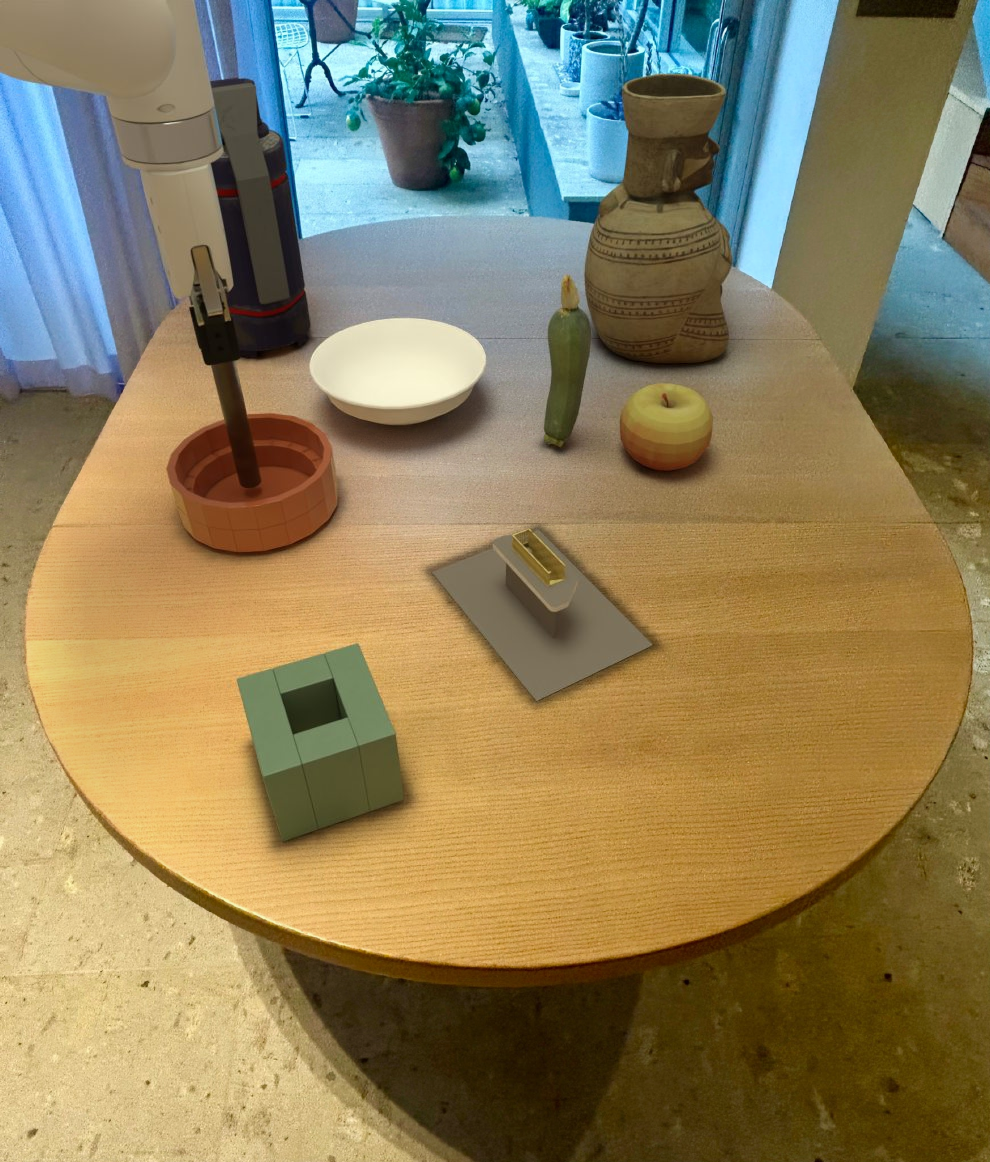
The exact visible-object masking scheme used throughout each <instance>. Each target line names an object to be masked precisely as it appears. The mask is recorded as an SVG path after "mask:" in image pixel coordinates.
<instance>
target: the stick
mask: <svg viewBox="0 0 990 1162" xmlns="http://www.w3.org/2000/svg"><path fill="white" fill-rule="evenodd" d="M202 301H204V299H203V298H199V302H202ZM200 304H201V303H200ZM210 367H211V372H212V375H213V379H214V384H215V389H216V392H217V396H218V400H219V405H220V409H221V413H222V417H223V420H224V421H225V426H226V430H227V434H228V438H229V442H230V446H231V450H232V455H233V459H234V463H235V467H236V471H237V475H238V479H239V483H240V485H241V486H242V487H244V488H254V487H256V486H258V485H259V484H260V483H261V481H262V480H261V475H260V471H259V466H258V461H257V457H256V452H255V448H254V443H253V439H252V434H251V430H250V425H249V421H248V416H247V415H248V412H247V408H246V404H245V399H244V393H243V390H242V389H243V388H242V384H241V380H240V376H239V375H240V374H239V372H238V367H237V361H231V362H226V363H220V364H215V365H210Z"/></svg>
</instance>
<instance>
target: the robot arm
mask: <svg viewBox="0 0 990 1162" xmlns="http://www.w3.org/2000/svg"><path fill="white" fill-rule="evenodd" d="M197 13H198V12H197V7H196V2H195V0H0V73H1V74H3V75H5V76H7V77H9V78H13V79H16V80H20V81H22V82H23V81H24V82H28V83H32V84H38V85H44V86H48V87H54V88H60V89H68V90H72V91H79V92H84V93H88V94H95V95H99V96H104V97H106V102H107V105H108V109H109V113H110V117H111V120H112V124H113V128H114V131H115V135H116V139H117V142H118V143H117V144H118V146H119V150H120V154H121V158H122V161H123V163H124V164H125V165H126V166H129V167H130V168H132V169H135V170H139V173H140V178H141V185H142V186H143V193H144V197H145V200H146V206H147V209H148V213H149V216H150V217H149V218H150V220H151V225H152V227H153V232H154V236H155V239H156V244H157V247H158V252H159V254H160V259H161V263H162V267H163V270H164V273H165V276H166V279H167V282H168V285H169V288H170V290H171V293H172V296H173V297H174V298H176V299H177V300H178V301H183V300H184V298H188V300H189V303H190V305H191V306H188V311H189V314H190V318H191V322H192V327H193V330H194V334H195V339H196V342H197V345H198V348H199V349H200V353H201V357H202V360H203V363H204V365H205V366H210V367H211V365H215V364H220V363H226V362H231V361H235V362H237V361H239V360H240V359H241V357H242V356H241V355H240V350H239V346H238V341H237V336H236V332H235V327H234V322H233V318H232V315H231V316H230V313H229V308H228V304H227V299H226V295H225V289H226V290H227V292H229V291H230V290H231V289H232V287H233V278H232V271H231V265H230V259H229V253H228V247H227V241H226V236H225V231H224V225H223V220H222V215H221V210H220V205H219V200H218V195H217V190H216V186H215V181H214V176H213V172H212V167H211V163H212V162H214V161H215V160H217V159H219V158H220V157H221V156H222V154H223V152H224V151H223V145H222V140H221V135H220V129H219V124H218V119H217V114H216V109H215V105H214V99H213V94H212V89H211V84H210V81H211V79H210V74H209V69H208V63H207V59H206V54H205V49H204V44H203V39H202V34H201V29H200V28H201V27H200V24H199V23H200V22H199V18H198V14H197ZM199 298H203V299H204V301H202V302H199ZM200 303H201V304H200Z"/></svg>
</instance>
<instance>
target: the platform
mask: <svg viewBox="0 0 990 1162" xmlns="http://www.w3.org/2000/svg"><path fill="white" fill-rule="evenodd" d="M431 574H432V575H433V576H434V577H435V579H436V580H437V581H438V582H439V583H440V584H441V586H442V587H443V588H444V590H445V591H446V592H447V593H448V595H449V596H450V597H451V598H452V599H453V600H454V602H455V603H456V605H458V607H459V608H460V609H461V610H462V611H463V613H464V614H465V615H466V616H467V618H468V620H470V622H471V623H472V625H474V627H476V629H477V630H478V632H479V633H480V634H481V635H482V636H483V637H484V639H485V640H486V642H487V643H489V645H490V646H491V648H492V649H494V652H495V653H497V655H498V656H499V657H500V659H501V660H502V661H503V663H505V665H506V666H507V667H508V668H509V669H510V671H511V672H512V673H513V675H514V676H515V677H516V678H517V679H518V681H519V682H520V683H521V684H522V685H523V687H524V688H525V689H526V690H527V692H528V693H529V694H530V695H531V697H532V698H533V699H534V700H535V702H539V701H541V700H542V699H544V698H546V697H549V696H550V695H553V694H554V693H557V692H559V691H561V690H563V689H565V688H568V687H569V686H572V685H573V684H576V683H577V682H579V681H581V680H584V679H586V678H588V677H590V676H593V675H595V674H597V673H598V672H600V671H603V670H604V669H606V668H608V667H610V666H613V665H615V664H617V663H619V662H621V661H623V660H625V659H627V658H629V657H632V656H634V655H636V654H638V653H640V652H642V651H644V650H646V649H648V648H650V647H652V646H653V643H652V642H651V641H650V640H649V639H648V638H647V637H646V636H645V635H643V633H642V632H641V631H640V630H639V629H638V628H637V627H636V626H635V625H634V624H633V623H632V622H631V621H630V620H629V619H628V618H627V616H625V615H624V614H623V613H622V612H621V611H620V610H619V609H618V608H617V607H616V606H615V605H614V604H613V602H611V601H610V600H609V599H608V598H607V597H606V596H605V595H604V594H603V593H602V592H601V591H600V590H599V589H598V588H597V587H596V586H595V585H594V584H593V583H592V582H591V580H589V578H587V577H586V576H585V575H584V574H583V573H582V572H581V571H580V570H579V569H578V568H577V566H575V565H574V564H573V563H572V562H571V561H570V560H569V558H567V557H566V556H565V555H564V554H563V552H562V551H560V549H558V548H557V547H556V545H554V544H553V543H552V541H551V540H549V539H548V538H547V537H546V535H544V534H543V532H541V530H540V529H537V530H535V531H532V530H531V529H530V528H526V529H524V530H521V531H518V532H516V533H514V534H505V535H502V536H499V537H497V538H495V539H493V540H492V548H489V549H487V550H484V551H481V552H479V553H476V554H474V555H472V556H468V557H466V558H464V559H460V560H459V561H457V562H454V563H451V564H449V565H446V566H443V567H440V568H438V569H436V570H434V571H432V572H431Z"/></svg>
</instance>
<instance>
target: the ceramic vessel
mask: <svg viewBox="0 0 990 1162" xmlns="http://www.w3.org/2000/svg"><path fill="white" fill-rule="evenodd" d="M621 89H622V90H621V100H622V109H623V116H624V125H625V128H626V130H627V133H628V134H627V145H626V152H625V153H626V154H625V161H624V170H623V178H622V181H621V183H620V184H618V185H617V186H615V187H614V188H613V189H612V190H611V191H609V192H608V193H607V194H606V195H605V196H604V197H603V198H602V199H601V201H600V203H599V206H598V215H597V217H596V219H595V221H594V223H593V226H592V228H591V230H590V231H591V232H590V235H589V239H588V244H587V250H586V256H585V262H584V273H583V275H584V290H585V299H586V302H587V308H588V311H589V314H590V317H591V318H590V319H591V321H592V324H593V327H594V329H595V331H596V333H597V335H598V337H599V338H600V340H601V341H602V343H603V344H604V345H605V346H606V347H607V348H608V350H610V351H611V352H613V353H615V354H617V355H618V356H620V357H623V358H626V359H628V360H630V361H636V362H643V363H644V362H645V363H653V364H698V363H704V362H707V361H711V360H715V359H717V358H718V357H720V356H721V355H722V354H724V352H725V351H726V349H727V347H728V344H729V337H730V333H729V327H728V322H727V319H726V316H725V313H724V309H723V305H722V295H723V283H724V282H725V281H726V279H727V277H728V276H729V274H730V272H731V269H732V265H733V252H732V248H731V244H730V239H731V236H730V235H731V234H730V233H729V230H728V229H727V227H726V226H725V225H724V224H723V223H722V222H721V221H720V220H718V219H717V218H716V217H715V216H713V215H712V213H711V212H710V211H709V209H708V208H707V207H706V206H705V204H704V201H703V200H702V199H701V197H700V196H699V195H698V194H697V193H696V191H697V190H699V189H702V188H704V187H706V186H709V185H711V184H712V182H713V171H714V168H715V167H716V163H715V158H714V157H715V156H716V155H717V154H719V153H720V151H721V147H720V145H719V144H718V142H716V141H715V140H714V139H712V138H711V137H710V136H709V134H710V132H711V131H712V129H713V127H714V125H715V123H717V119H718V117H719V115H720V112H721V110H722V107H723V104H724V102H725V100H726V96H727V90H726V88H725V86H724V85H723V84H721V83H718V82H716V81H714V80H712V79H710V78H707V77H702V76H697V75H693V74H689V73H656V74H650V75H646V76H641V77H637V78H633V79H631V80H628V81H626V82H625V83H624V84H623V86H622V88H621Z"/></svg>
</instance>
